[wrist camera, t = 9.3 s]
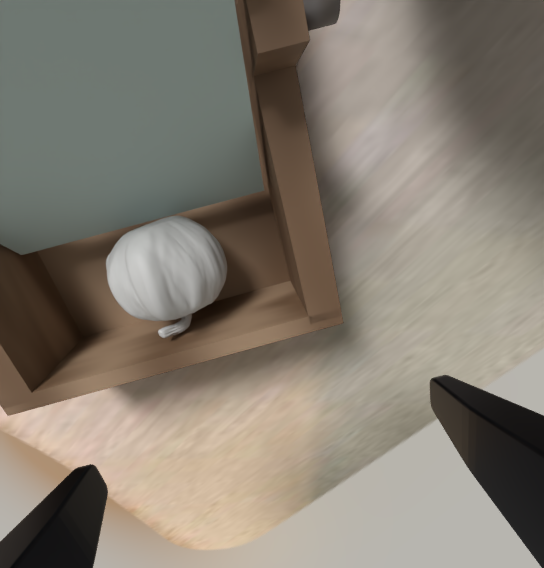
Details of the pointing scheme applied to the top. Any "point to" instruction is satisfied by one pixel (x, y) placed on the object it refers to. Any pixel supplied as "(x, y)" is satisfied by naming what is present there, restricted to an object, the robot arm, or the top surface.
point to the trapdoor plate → (119, 115)
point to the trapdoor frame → (219, 222)
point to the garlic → (166, 271)
